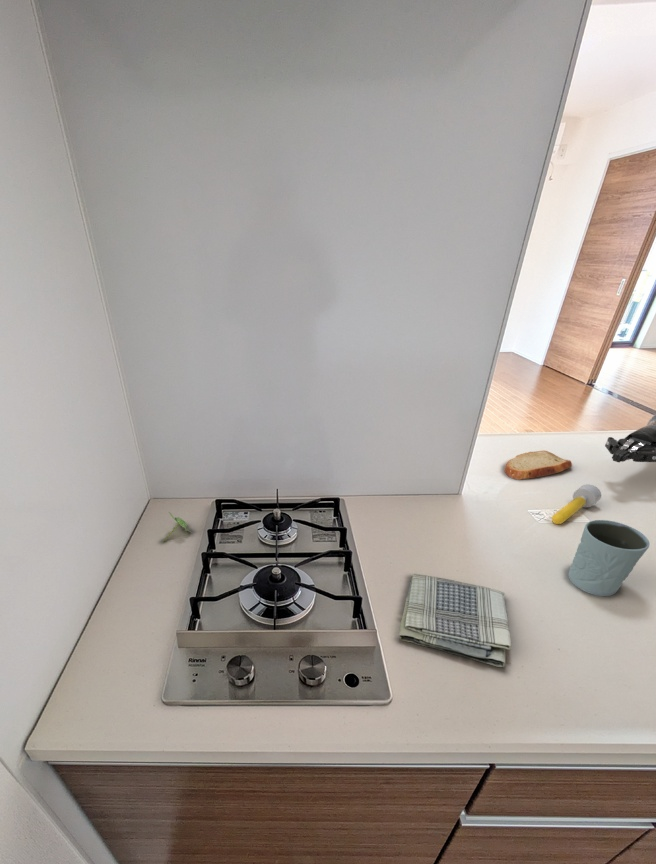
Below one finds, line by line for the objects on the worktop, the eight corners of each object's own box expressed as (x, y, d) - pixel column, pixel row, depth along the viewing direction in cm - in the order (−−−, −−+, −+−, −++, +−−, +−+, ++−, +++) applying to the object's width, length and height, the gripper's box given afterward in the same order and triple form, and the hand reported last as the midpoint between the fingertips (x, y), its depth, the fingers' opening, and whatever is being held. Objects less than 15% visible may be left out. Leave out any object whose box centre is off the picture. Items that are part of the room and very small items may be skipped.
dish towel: (409, 576, 91) (411, 564, 89) (503, 597, 85) (507, 585, 84) (396, 643, 77) (399, 630, 75) (508, 674, 71) (514, 661, 69)
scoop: (596, 482, 109) (561, 509, 102) (605, 500, 109) (570, 529, 103) (575, 486, 114) (540, 513, 107) (583, 504, 114) (549, 531, 107)
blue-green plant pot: (557, 581, 89) (578, 534, 82) (572, 558, 95) (593, 513, 88) (615, 607, 83) (644, 558, 76) (627, 580, 89) (655, 533, 82)
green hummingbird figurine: (175, 551, 107) (191, 530, 109) (177, 551, 100) (194, 528, 101) (151, 533, 106) (168, 512, 108) (151, 532, 99) (169, 509, 100)
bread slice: (504, 478, 125) (508, 466, 123) (503, 452, 139) (506, 441, 137) (576, 489, 119) (581, 477, 117) (567, 461, 133) (572, 450, 131)
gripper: (624, 420, 121) (594, 435, 113) (683, 436, 111) (654, 454, 103) (613, 445, 125) (583, 461, 117) (668, 462, 116) (640, 481, 108)
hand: (617, 458), depth 110 cm, fingers closed
